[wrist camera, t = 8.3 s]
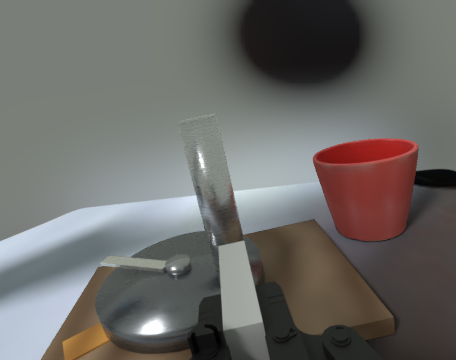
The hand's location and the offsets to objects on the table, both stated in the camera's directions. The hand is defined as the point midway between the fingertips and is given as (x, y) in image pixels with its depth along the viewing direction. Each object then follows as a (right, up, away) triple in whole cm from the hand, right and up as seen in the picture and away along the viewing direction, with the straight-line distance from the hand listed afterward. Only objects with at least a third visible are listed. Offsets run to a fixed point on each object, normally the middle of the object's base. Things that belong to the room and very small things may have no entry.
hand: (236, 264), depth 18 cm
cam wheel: (-6, -6, +14) cm, 16 cm away
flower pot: (+17, -1, +21) cm, 27 cm away
